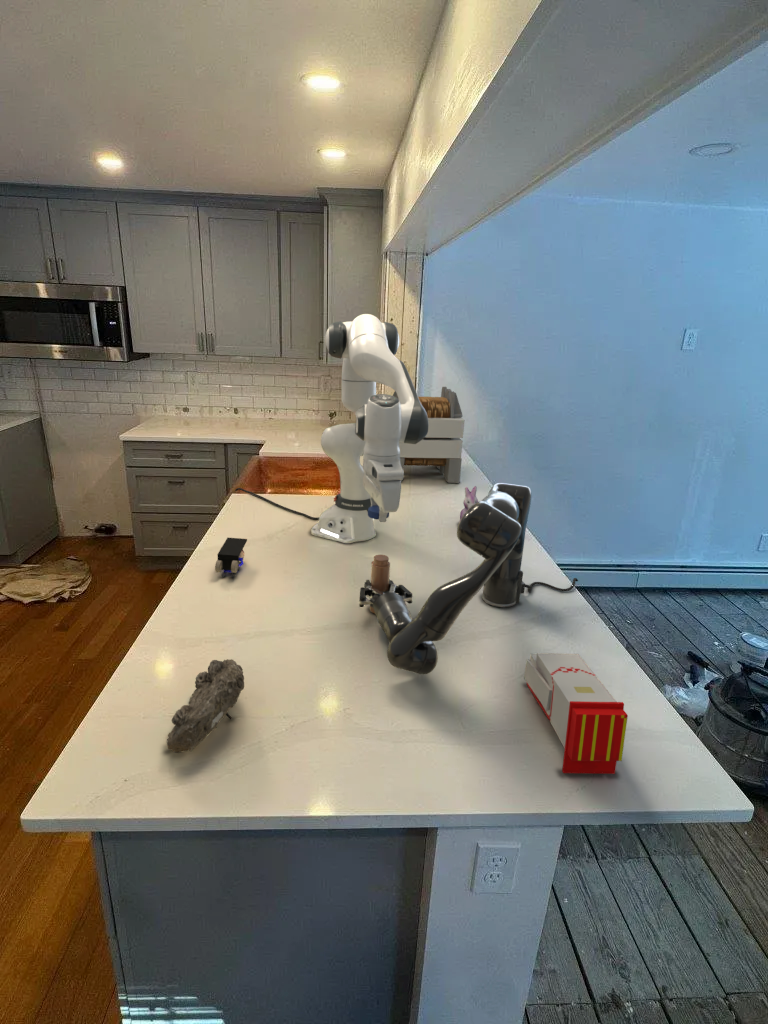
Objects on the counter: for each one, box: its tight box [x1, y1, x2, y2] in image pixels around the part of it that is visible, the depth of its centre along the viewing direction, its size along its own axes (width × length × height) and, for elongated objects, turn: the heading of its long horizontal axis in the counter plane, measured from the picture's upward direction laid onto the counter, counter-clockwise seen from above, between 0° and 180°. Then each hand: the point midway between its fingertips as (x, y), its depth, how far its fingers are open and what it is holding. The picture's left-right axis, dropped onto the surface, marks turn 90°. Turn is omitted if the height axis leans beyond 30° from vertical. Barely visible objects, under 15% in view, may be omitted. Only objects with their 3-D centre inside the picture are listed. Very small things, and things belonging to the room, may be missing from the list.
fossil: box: [166, 658, 245, 754], centre depth 106 cm, size 22×10×15 cm
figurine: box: [459, 485, 479, 521], centre depth 207 cm, size 9×10×15 cm
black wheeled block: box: [214, 537, 248, 578], centre depth 166 cm, size 7×8×15 cm
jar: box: [369, 554, 391, 615], centre depth 147 cm, size 5×5×15 cm
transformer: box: [392, 386, 465, 484], centre depth 268 cm, size 34×33×41 cm
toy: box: [523, 652, 628, 775], centre depth 110 cm, size 12×13×30 cm
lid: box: [368, 506, 390, 520], centre depth 142 cm, size 5×5×2 cm
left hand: (378, 516), depth 142 cm, fingers closed on lid, 5 cm apart
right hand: (377, 582), depth 149 cm, fingers closed on jar, 5 cm apart
